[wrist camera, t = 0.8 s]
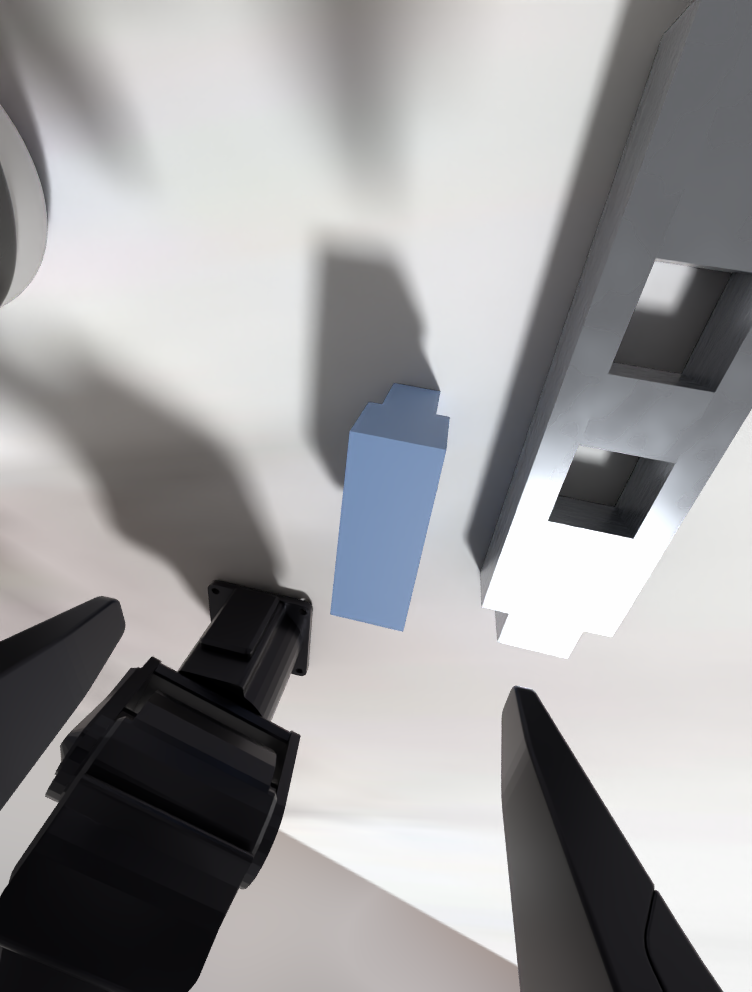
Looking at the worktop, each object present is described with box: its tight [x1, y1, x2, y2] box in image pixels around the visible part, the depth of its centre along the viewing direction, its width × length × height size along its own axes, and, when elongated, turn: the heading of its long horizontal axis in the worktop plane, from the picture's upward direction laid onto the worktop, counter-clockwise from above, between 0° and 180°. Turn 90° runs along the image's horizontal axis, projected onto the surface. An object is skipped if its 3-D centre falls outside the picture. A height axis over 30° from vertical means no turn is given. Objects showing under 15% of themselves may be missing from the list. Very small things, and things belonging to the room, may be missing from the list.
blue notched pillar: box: [330, 383, 450, 632], centre depth 18 cm, size 8×3×6 cm, turn 172°
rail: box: [480, 0, 752, 658], centre depth 16 cm, size 24×6×2 cm, turn 172°
